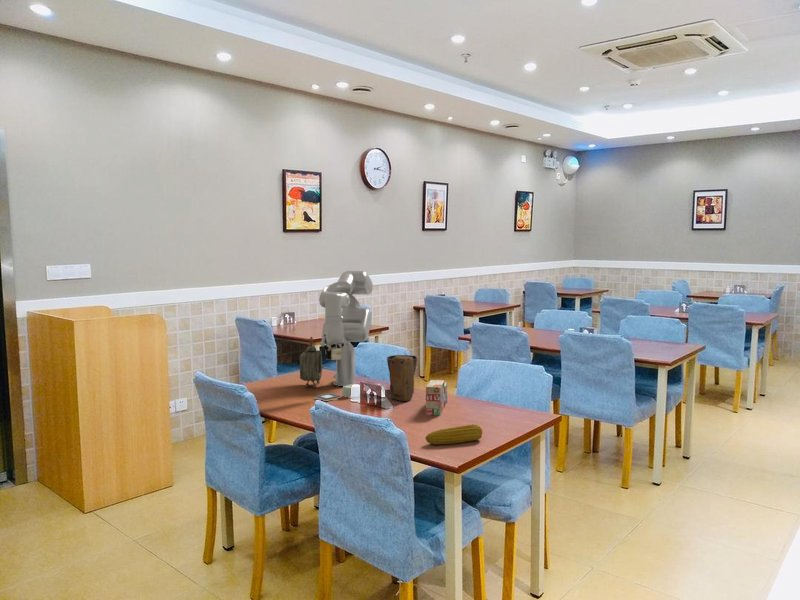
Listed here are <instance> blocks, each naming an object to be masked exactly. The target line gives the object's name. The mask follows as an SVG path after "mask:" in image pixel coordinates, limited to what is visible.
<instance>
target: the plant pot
mask: <svg viewBox="0 0 800 600" xmlns="http://www.w3.org/2000/svg"><path fill="white" fill-rule="evenodd" d="M398 355H399V354H396V355H395V354H394V355H389V356H386V361H387V367H388V368H387V369H388V372H389V373H388V374H390V362H391V360H392V358H394V357H395V356H398ZM405 355H406V356H409V357H412V358H413V362H414V376H415V375H416V369H417V363H418V357H417V356H415V355H413V354H412V355H411V354H405Z"/></svg>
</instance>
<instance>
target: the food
mask: <svg viewBox="0 0 800 600" xmlns="http://www.w3.org/2000/svg"><path fill="white" fill-rule="evenodd" d="M482 429H483V428H482V427H481V426H480V425H478V424H467V425H461V426H454V427H449V428H442V429H439V430H434V431H431V432H429V433H427V435H426V436H425V440H426V442H427V443H428V444H430V445H439V446H440V445H453V444H459V443H467V442H468V441H469V442H474V440H475V441H478V440H480V439H481V438H482V435H483V430H482ZM469 442H468V443H469Z"/></svg>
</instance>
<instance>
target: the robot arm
mask: <svg viewBox="0 0 800 600" xmlns="http://www.w3.org/2000/svg"><path fill="white" fill-rule="evenodd" d="M369 275H370V274H368V273H367V272H366V271H364V270H346V271H343V273H341V275H340V277H339V278H338V280H337V281H336V282H333V283H331V284H329V285H326V286H325V287H324V288H323V289H322V290H321V293H320V294H319V299H318V302H319V305H320V306H321V307H322V308H324V313H325V315H324V316H325V318H324V322H323V325H322V330H321V341H320V343H319V345H320V346H321V347H322V348H323V350H324V351H325V360H327V359H329V361H331V360H330V359H331V351H330V348H332V345H335V348H340V349H341V359H339V360H335V362H336V363H335V370H336V373H335V375H333V377H332V378H333V379H335V380H334V381H333V386H335V385H338V386H337V387H339V386H347V385H352V384H353V383H354V382H355V380H356V350H355V348H354V345H352V343H353V342H354V343H357V342H358V343H364V342H366V341H367V340H368V339H369V338H368V337H369V334H370V329H371V324H372V312H371V310H370V309H369V308H366V307H360V302H359V300H358V299H357V298H356V297H355V296H354V295H358V296H359V295H360V296H361V295H363V296H364V295H370V294H372V293H373V290H374V286H373V280H372V279H371V277H370V276H369ZM351 342H352V343H351Z"/></svg>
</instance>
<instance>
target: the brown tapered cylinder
mask: <svg viewBox="0 0 800 600" xmlns="http://www.w3.org/2000/svg"><path fill="white" fill-rule="evenodd" d="M397 355H398V356H395V357H394V358H392V360H391V362H390V373H389V383H390V384H389V396H390V397H391V399H394V400H397V401H400V402H408V401H411V400H412V398H413V395H414V392H415V375H414V362H413V358H412V357H409V356H406V355H407V354H397Z"/></svg>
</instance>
